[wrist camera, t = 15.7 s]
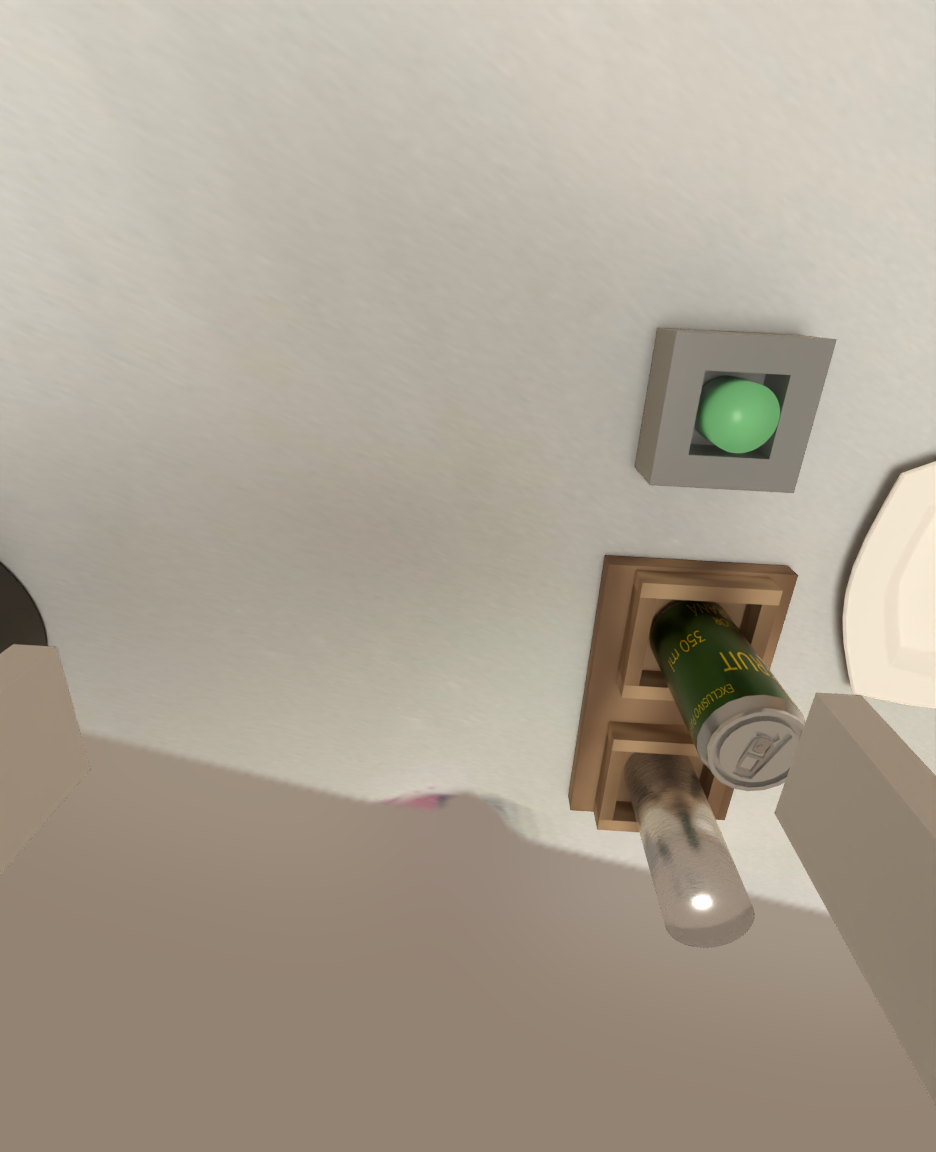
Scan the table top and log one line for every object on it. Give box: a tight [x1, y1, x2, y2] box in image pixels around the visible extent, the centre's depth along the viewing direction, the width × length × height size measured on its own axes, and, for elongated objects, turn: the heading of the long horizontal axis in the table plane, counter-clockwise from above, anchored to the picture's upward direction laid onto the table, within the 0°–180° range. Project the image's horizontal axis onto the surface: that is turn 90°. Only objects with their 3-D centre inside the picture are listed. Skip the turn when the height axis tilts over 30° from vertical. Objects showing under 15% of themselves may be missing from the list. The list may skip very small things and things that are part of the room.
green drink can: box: [650, 600, 805, 791], centre depth 35 cm, size 5×5×12 cm
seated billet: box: [624, 752, 754, 948], centre depth 40 cm, size 5×5×12 cm
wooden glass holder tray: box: [568, 555, 798, 832], centre depth 43 cm, size 12×21×4 cm, turn 177°
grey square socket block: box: [635, 328, 837, 493], centre depth 34 cm, size 8×8×4 cm
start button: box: [694, 376, 780, 453], centre depth 33 cm, size 4×4×3 cm
